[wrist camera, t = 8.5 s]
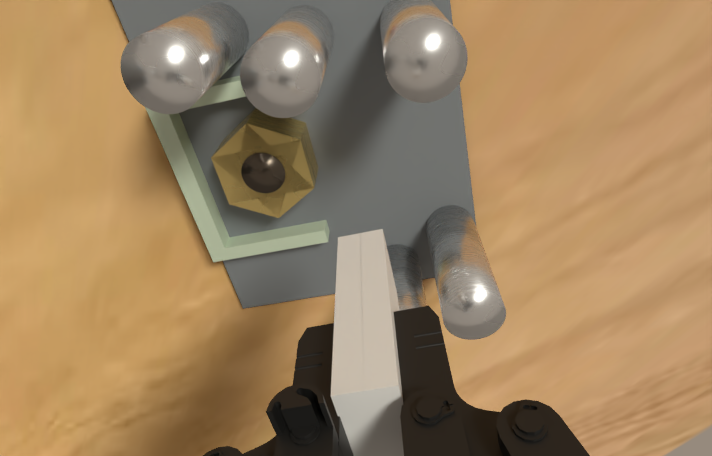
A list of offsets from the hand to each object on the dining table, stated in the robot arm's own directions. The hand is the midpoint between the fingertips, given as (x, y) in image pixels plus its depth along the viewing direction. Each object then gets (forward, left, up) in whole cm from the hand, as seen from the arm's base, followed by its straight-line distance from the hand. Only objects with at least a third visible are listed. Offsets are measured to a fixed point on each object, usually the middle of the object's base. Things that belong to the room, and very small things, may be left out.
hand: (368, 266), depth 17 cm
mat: (-3, 0, -12) cm, 12 cm away
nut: (-5, 0, -12) cm, 13 cm away
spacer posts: (-1, -1, -12) cm, 12 cm away
